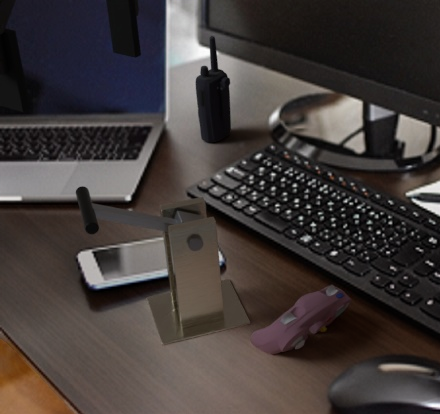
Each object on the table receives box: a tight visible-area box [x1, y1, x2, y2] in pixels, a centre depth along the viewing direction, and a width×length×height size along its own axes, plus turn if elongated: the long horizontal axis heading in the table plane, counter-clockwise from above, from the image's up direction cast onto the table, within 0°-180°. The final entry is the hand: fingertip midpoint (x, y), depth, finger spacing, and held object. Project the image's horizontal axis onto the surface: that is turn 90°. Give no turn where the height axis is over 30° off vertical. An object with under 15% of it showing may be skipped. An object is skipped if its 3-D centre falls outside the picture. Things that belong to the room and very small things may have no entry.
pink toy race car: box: [250, 284, 353, 355], centre depth 82 cm, size 10×5×7 cm, turn 136°
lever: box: [75, 185, 204, 235], centre depth 79 cm, size 12×7×2 cm, turn 111°
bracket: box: [146, 196, 251, 346], centre depth 83 cm, size 9×8×13 cm
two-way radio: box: [195, 35, 232, 144], centre depth 119 cm, size 6×4×15 cm
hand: (75, 79), depth 72 cm, fingers open, 13 cm apart
